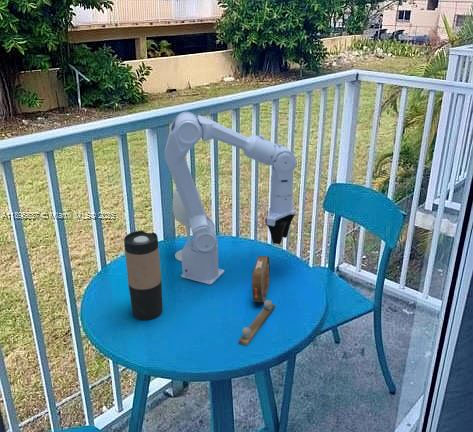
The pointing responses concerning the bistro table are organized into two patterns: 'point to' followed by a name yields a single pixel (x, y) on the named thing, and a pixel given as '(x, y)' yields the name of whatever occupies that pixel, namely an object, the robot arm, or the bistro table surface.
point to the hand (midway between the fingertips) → (279, 239)
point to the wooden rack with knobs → (256, 323)
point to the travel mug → (144, 274)
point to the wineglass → (181, 218)
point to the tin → (261, 278)
